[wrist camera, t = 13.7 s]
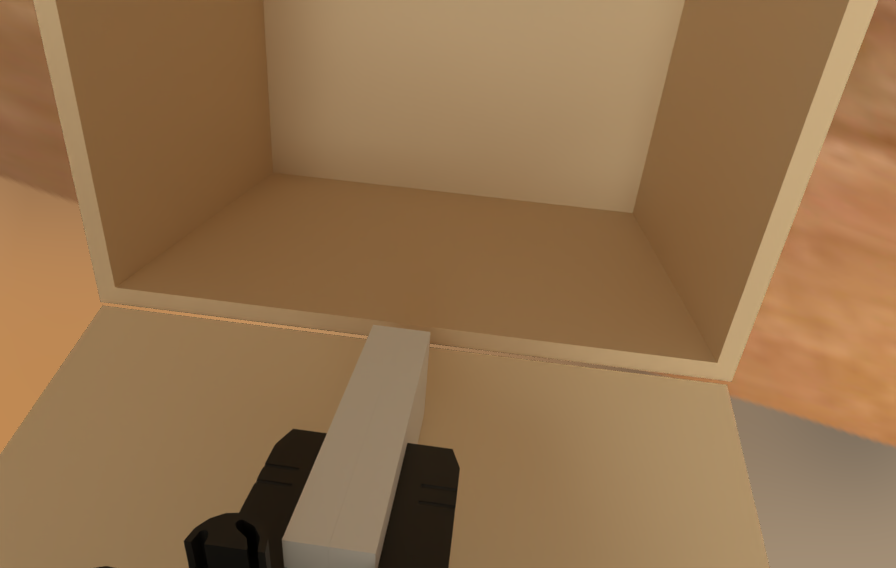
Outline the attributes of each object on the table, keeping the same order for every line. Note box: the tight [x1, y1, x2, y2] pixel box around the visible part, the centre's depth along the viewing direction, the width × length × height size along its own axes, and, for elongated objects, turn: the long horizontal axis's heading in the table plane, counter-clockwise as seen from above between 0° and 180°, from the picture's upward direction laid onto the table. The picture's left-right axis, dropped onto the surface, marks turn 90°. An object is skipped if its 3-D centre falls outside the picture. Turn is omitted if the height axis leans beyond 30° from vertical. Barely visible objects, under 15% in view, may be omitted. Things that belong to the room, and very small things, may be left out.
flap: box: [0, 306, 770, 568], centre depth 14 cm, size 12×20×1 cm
